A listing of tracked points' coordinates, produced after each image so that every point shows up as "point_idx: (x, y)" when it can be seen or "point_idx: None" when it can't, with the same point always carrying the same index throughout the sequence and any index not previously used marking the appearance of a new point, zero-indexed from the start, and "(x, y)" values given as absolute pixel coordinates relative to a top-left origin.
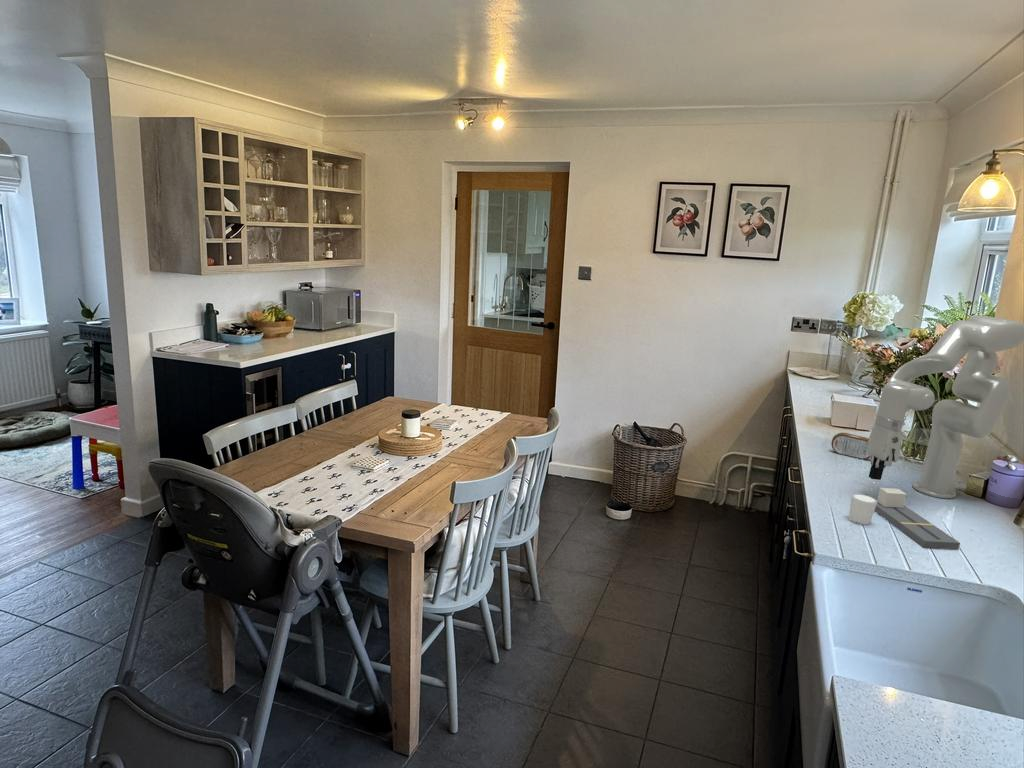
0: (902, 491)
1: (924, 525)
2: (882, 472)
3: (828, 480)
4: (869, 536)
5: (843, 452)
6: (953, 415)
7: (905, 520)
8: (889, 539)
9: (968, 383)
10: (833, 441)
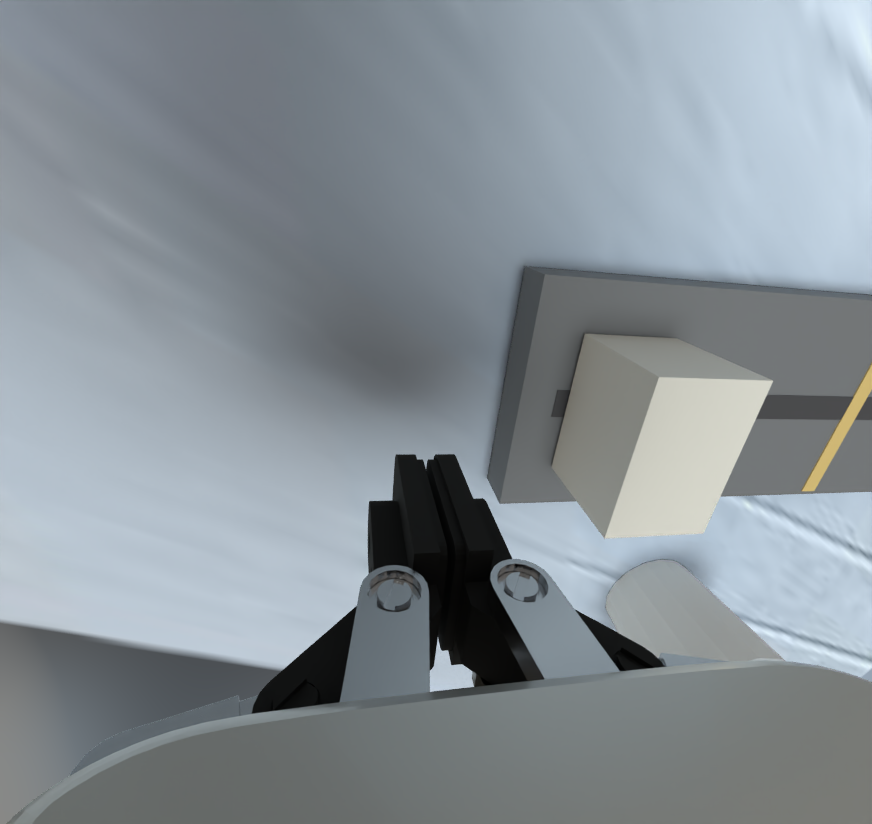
0: (719, 381)
1: None
2: (475, 506)
3: (35, 518)
4: (764, 615)
5: None
6: None
7: (799, 448)
8: (811, 560)
9: None
10: None
